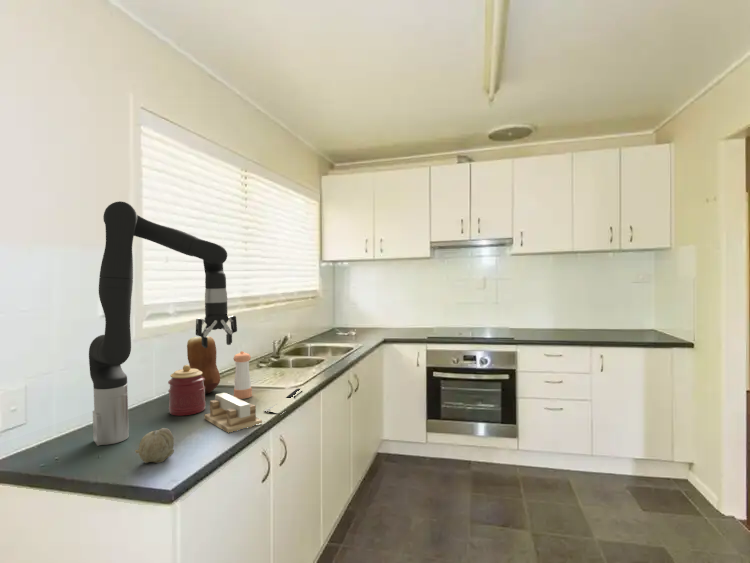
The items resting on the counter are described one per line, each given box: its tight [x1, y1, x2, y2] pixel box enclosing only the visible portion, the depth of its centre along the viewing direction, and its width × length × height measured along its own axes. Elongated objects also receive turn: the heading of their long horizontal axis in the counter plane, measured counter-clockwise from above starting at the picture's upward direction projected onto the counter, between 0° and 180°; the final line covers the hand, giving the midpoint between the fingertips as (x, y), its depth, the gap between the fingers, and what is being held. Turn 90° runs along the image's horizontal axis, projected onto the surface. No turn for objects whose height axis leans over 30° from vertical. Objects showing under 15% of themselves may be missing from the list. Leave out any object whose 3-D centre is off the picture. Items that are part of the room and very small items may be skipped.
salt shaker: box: [233, 350, 253, 400], centre depth 188 cm, size 7×7×19 cm
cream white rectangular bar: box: [214, 392, 251, 418], centre depth 156 cm, size 20×4×4 cm, turn 43°
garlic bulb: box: [134, 427, 175, 464], centre depth 124 cm, size 9×8×10 cm
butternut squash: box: [186, 335, 221, 395], centre depth 193 cm, size 14×13×25 cm
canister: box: [167, 364, 207, 417], centre depth 169 cm, size 13×13×18 cm
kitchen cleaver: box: [263, 388, 301, 415], centre depth 179 cm, size 31×2×10 cm
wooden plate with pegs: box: [204, 395, 263, 434], centre depth 156 cm, size 20×12×6 cm, turn 42°
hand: (217, 346), depth 160 cm, fingers open, 8 cm apart
